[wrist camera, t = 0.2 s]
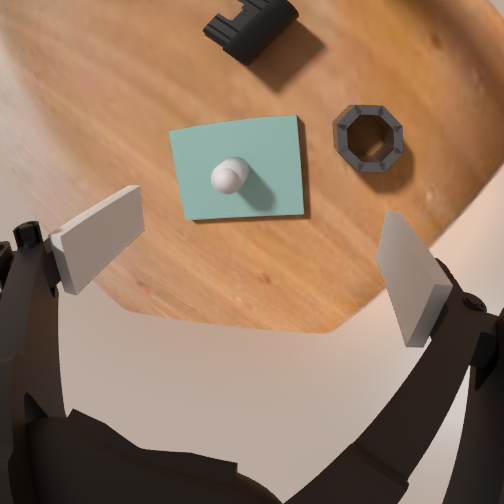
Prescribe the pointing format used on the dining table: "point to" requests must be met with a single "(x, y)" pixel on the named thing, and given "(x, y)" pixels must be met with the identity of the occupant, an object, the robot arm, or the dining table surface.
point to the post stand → (239, 168)
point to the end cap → (251, 28)
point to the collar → (385, 153)
